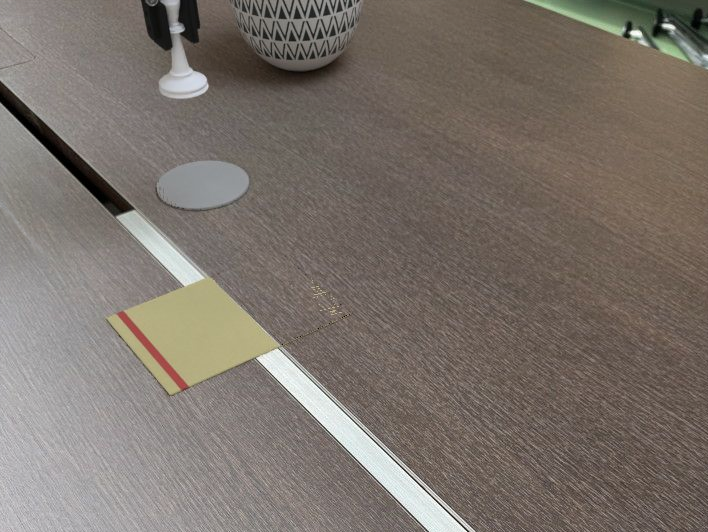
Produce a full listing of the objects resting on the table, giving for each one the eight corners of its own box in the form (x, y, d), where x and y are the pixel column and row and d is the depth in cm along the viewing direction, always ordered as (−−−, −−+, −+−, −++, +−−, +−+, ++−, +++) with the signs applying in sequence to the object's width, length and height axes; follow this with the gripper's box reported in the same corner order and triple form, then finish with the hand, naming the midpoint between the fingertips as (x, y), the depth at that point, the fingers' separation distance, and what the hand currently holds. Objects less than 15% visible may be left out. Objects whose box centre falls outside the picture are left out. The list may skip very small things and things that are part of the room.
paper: (170, 396, 76) (170, 394, 76) (106, 319, 84) (105, 317, 83) (351, 314, 84) (351, 313, 83) (277, 250, 91) (277, 249, 91)
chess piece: (210, 96, 83) (193, -16, 76) (159, 101, 83) (137, -12, 75) (207, 75, 87) (190, -35, 79) (158, 79, 86) (137, -31, 78)
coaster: (183, 221, 95) (182, 218, 95) (140, 181, 101) (140, 178, 101) (266, 190, 99) (266, 188, 99) (221, 153, 105) (220, 151, 105)
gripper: (202, -222, 72) (230, 12, 86) (20, -198, 66) (83, 48, 80) (244, -207, 68) (267, 36, 82) (55, -180, 62) (114, 76, 76)
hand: (175, 40), depth 81 cm, fingers closed on chess piece
